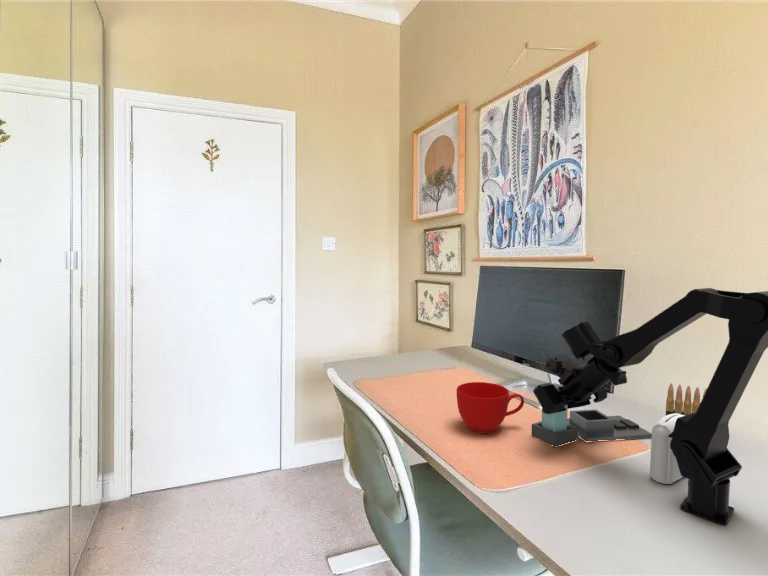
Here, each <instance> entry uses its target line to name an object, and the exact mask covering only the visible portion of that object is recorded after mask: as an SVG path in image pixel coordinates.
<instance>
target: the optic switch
mask: <svg viewBox="0 0 768 576" xmlns="http://www.w3.org/2000/svg"><path fill="white" fill-rule="evenodd" d="M567 425H569V426H571V427H574V428H576V429H577V435H578V436H580V437H581V438H582V439H584V440H585V441H598V440H616V439H634V440H644V439H645V440H646V439H652V432H649V431H648V430H646V429H644V428H642V427H640V425H639V424H638V423H636V422H634V421H632V420H630V419H628V418H627V419H626V418H625V417H623V416H621V415H607V414H604V413H603V412H601V411H599V410H598V409H579V410H569V418H567ZM578 436H577V437H578ZM581 438H580V439H581ZM582 439H581V440H582ZM585 441H584V442H585Z"/></svg>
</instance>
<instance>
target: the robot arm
mask: <svg viewBox="0 0 768 576" xmlns="http://www.w3.org/2000/svg"><path fill="white" fill-rule="evenodd" d="M705 315H709V316H714V317H716V318H720V319H725V320H728V321H727V328H728V344H727V346H726V347H725V350H724V351H723V354H722V356H721V359H720V360H719V362H718V365H717V367H716V369H715V371H714V373H713V376H712V378H711V379H710V381H709V384H708V386H707V387H706V388H707V390H706V392H705V394H704V393H703V394H704V397H703V396H702V399H701V400H700V405H699V407H698V409H697V412H695V413H692V412H691V413H692V414H689V415H686V416H682V417H679V418H677V420H676V422H675V427H674V430H673V432H672V433H671V434H670V435H668V437H670V438H672V439H671V442H670V449H671V450H672V452H673V454H674V456H675V457H676V460H677V464H678V467H679V470H680V474H681V476H683V477H682V478H685V479H687V480H688V481H687V483H688V484H687V496H686V498H684V500H683V501H682V503H680V506H679V508H680V510H683V511H685V512H687V513H690V514H693V515H696V516H698V517H701V518H704V519H706V520H709V521H712V522H714V523H716V524H720V525H722V526H728V523H729V522H730V519H731V518H732V516H733V514H734V512H735V508H734V507H733V506H730V505H729V504H730V503H729V501H730V490H731V489H730V487H731V478H733V477H736V476H738V475H739V473H740V472H741V470H743V469H742V468H743V466H742V464H741V463H740V462H739V460H737V458H736V457H735V456H734V455H733V454H732V453H731V451H730V450H729V448H728V445H729V441H730V431H729V430H730V429H729V423H730V419H732V416H733V414H734V412H735V410H736V407H737V406H738V404H739V402H740V400H741V398H742V396H743V394H744V392H745V390H746V388H747V386H748V384H749V382H750V381H751V378H752V376H753V374H754V372H755V370H756V368H757V366H758V364H759V362H760V361H761V358H762V357H763V355H764V352H765V351H766V349H768V290H766V291H765V290H764V291H754V292H740V291H739V292H738V291H730V290H729V291H728V290H722V289H721V290H719V289H715V288H712V287H705V288H704V287H703V288H694V289H691V290H689V292H688V293H686V295H685V296H683V297H682V298H680V299H679V300H677V301H675V302H674V303H672V305H670V306H668V307H667V308H666V309H664V310H662V311H661V312H659V313H658V314H657V315H655V316H654V317H652V318H651V319H650V320H647V321H646V322H645V323H643V324H642V325H641V326H639V327H637V328H636V329H633V330H631V331H628V332H627V331H626V332H625V333H621V334H619V335H616V336H614V337H612V338H609V339H607V340H601V339H600V337H599V335H597V333H596V332H595V330H594V329H593V327H592V325H591V323H590V322H589V321H581V322H579V324H577V325H575V326H572V327H570V328H569V329H567V330H565V331H564V332H563V333H562V334H561V338H562V340H563V341H564V343H565V344H566V346H567V348H568V349H569V351H570V352H571V353H572V355H573V356H574V358H575V359H577V360H578V359H581V360H582V361H586V363H584V364H583V365H582V366H580V365H579V364H578V363H577V362H576V361H575V360H573V359H572V358H571V357H570V356H568V354H565V353H564V354H563V353H561V354H555V355H552V356H551V357H549V358H548V359H545V366H544V367H545V368H546V369H547V370H548V371H549V372H550V373H551V375H552V374H555V376H557V377H558V379H557V381H558V383H559V385H562V386H563V387H558V388H557V389H558V391H559V392H558V391H557V389H556V388H555V386H554V384H553V383H550V382H546V383H541V384H537V385H536V386H535V387H534V388H533V390H532V393H533V394H534V397H535V398H536V399H537V401H538V403H539V404H540V406H541V412H542V411H543V413H544V414H546V413H547V414H552V413H556V412H561V411H566V408H565V407H564V406H565V405H567V404H568V410H569V409H573V408H580V407H581V408H582V407H586V406H590V405H591V404H592V403H591V401H590V400H592V399H593V398H592V396H594V397H595V398H594V399H593V400H592V401H593V402H594V404H595V403H600V402H603V401H604V400H606V399H607V398H608V391H607V390H606V388H605V387H604V386H606V385H608V383H610V382H611V383H612V384H613V385H614V386H619V385H624V384H627V383H628V377H627V371H626V370H622V369H621V368H626V367H631V366H635V365H638V364H641V363H642V362H643V361H645V359H646V358H647V357H648V356H650V355H651V354H652V353H653V351H654V350H655V348H656V347H657V346H658V345H659V344H660V343H661V342H663V341H664V340H666V339H668V338H670V337H671V336H673V335H674V334H676V333H678V332H679V331H681V330H682V329H684V328H686V327H688V326H689V325H690V324H692V323H694V322H695V321H697V320H699V319H700V318H702V317H703V316H705ZM587 360H588V361H587Z"/></svg>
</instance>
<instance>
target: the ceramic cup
mask: <svg viewBox="0 0 768 576" xmlns="http://www.w3.org/2000/svg"><path fill="white" fill-rule="evenodd" d="M514 398H519V399H520V403H519V405H518V406H517V407H516V408H515V409H512V410H509V411H508V407H509V404H510V401H511V400H512V399H514ZM456 403H457V409H458V413H459V416H460V418H461V419H462V421H463V423H465V425H466V426H467V428H468V429H469V430H470V431H472V432H475V433H479V434H490V433H494V432H495V431H496V429H498V428H499V427H500V426H501V424H502V423H503V422H504V420H505V418H506V417H508V416H512V415H514V414H516V413H518V412H519V411H520V410H521V409H522V408H523V407H524V405H525V399H524V396H522V395H521V394H520V393H512V394H510V390H509V389H508V388H506V387H505V386H503V385H500V384H497V383H493V382H481V381H475V382H473V381H472V382H465V383H462V384H460V385H458V386H457V387H456Z"/></svg>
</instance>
